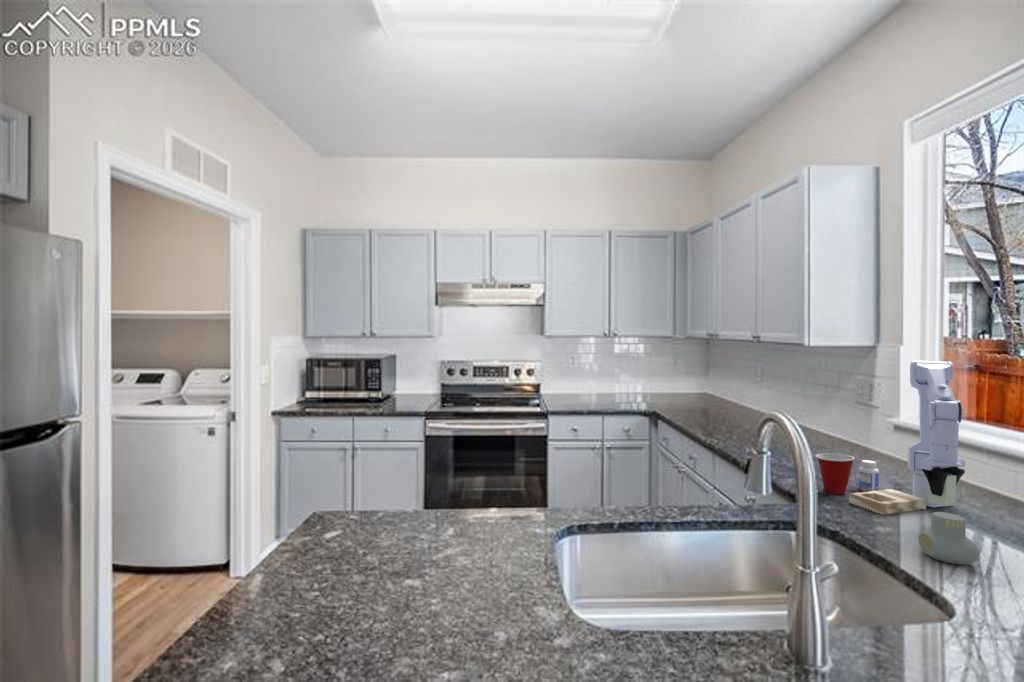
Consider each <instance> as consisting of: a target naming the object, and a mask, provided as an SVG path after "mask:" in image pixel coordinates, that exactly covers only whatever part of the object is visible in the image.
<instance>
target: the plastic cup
mask: <svg viewBox="0 0 1024 682" xmlns="http://www.w3.org/2000/svg"><path fill="white" fill-rule="evenodd" d="M815 457H816V459H817V461H818V464H819V469H820V474H821V480H822V485H823V486H822V487H823V489H824V492H826V491H827V492H826V493H829V494H834V495H845V494H846V492H847V487H848V484H849V480H850V476H851V471H852V467H853V463H854V461H855V459H856V458H855V457H854V456H852V455H850V454H849V455H848V454H843V453H842V454H840V453H829V452H827V453H817V454H815Z"/></svg>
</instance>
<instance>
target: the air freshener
mask: <svg viewBox="0 0 1024 682" xmlns="http://www.w3.org/2000/svg"><path fill="white" fill-rule="evenodd" d="M930 524H931V526H930V527H931V528H930V529H925V530H923V531H921V532H920V533H919V534H918V537H917V538H918V539H917V540H918V544H919V546H920V548H921V550H922V551H923V552H924V553H925V554H926V555H928V556H929V557H930V558H931V559H933V558H934V559H933V560H936V561H939V562H942V561H943V562H944V563H946V564H950V563H951V564H952V565H961V566H962V565H969V564H973V563H975V562H977V561H978V560H979V559H980V550H979V548H978V547H977V544H976V543H975V542H974V541H973V540H972V539H970V538H969V537H967V536H966V535H967V534H966V530H967V529H966V528H967V527H966V526H967V520H966V518H964V517H962V516H960V515H958V514H953V513H950V512H946V511H945V512H944V511H934V512H933V513H931V523H930ZM943 562H942V563H943Z"/></svg>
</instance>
